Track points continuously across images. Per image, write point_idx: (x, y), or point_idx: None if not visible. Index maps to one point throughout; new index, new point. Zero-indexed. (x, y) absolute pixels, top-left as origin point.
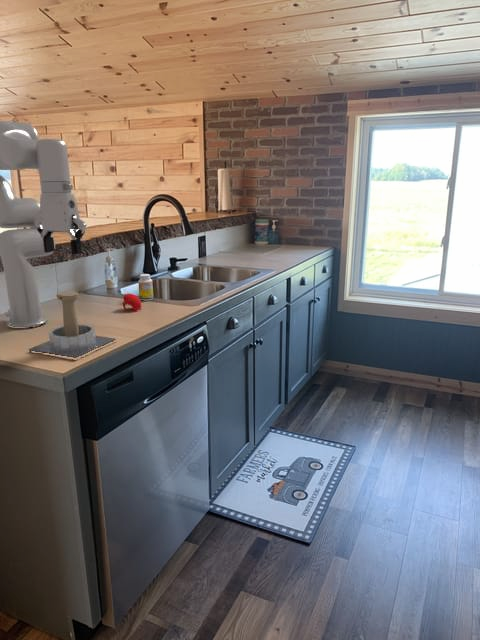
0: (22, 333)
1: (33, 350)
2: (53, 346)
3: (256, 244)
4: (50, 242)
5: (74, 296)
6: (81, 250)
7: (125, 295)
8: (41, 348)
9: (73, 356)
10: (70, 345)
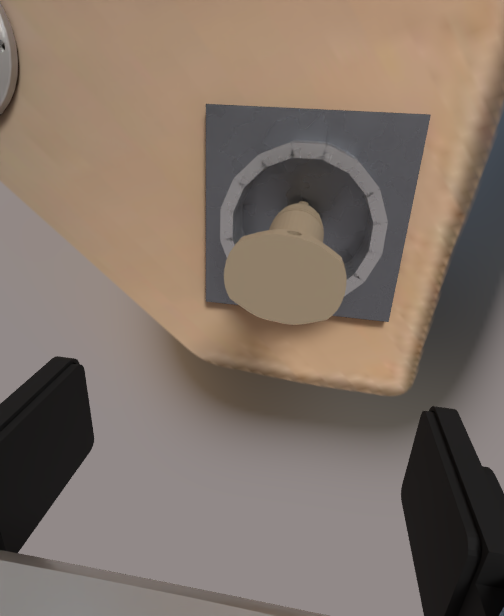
0: (41, 156)
1: (224, 302)
2: None
3: None
4: (33, 463)
5: (342, 297)
6: (463, 425)
7: None
8: None
9: (376, 317)
10: None
